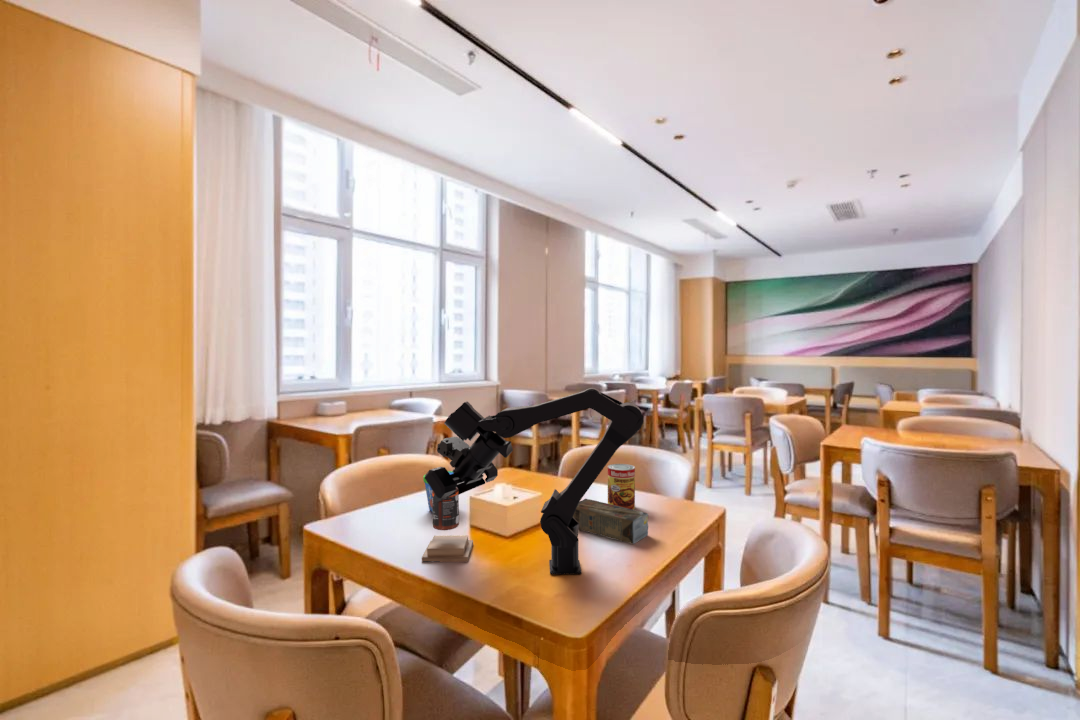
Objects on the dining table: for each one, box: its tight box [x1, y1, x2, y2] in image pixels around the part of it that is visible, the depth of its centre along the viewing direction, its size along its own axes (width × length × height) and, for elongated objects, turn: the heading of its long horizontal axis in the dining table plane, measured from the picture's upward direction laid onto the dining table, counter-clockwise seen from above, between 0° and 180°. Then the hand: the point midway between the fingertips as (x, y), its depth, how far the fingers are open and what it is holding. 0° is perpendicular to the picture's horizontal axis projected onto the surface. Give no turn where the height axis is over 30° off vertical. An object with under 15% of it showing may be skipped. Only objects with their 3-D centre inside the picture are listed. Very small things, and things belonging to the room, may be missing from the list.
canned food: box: [607, 463, 636, 510], centre depth 152 cm, size 8×8×12 cm
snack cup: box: [422, 470, 454, 513], centre depth 150 cm, size 16×10×10 cm
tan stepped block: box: [421, 534, 474, 563], centre depth 118 cm, size 10×10×2 cm
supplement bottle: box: [432, 487, 460, 531], centre depth 119 cm, size 6×6×11 cm
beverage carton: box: [573, 498, 649, 545], centre depth 132 cm, size 8×19×7 cm, turn 51°
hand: (444, 497), depth 119 cm, fingers closed on supplement bottle, 6 cm apart
